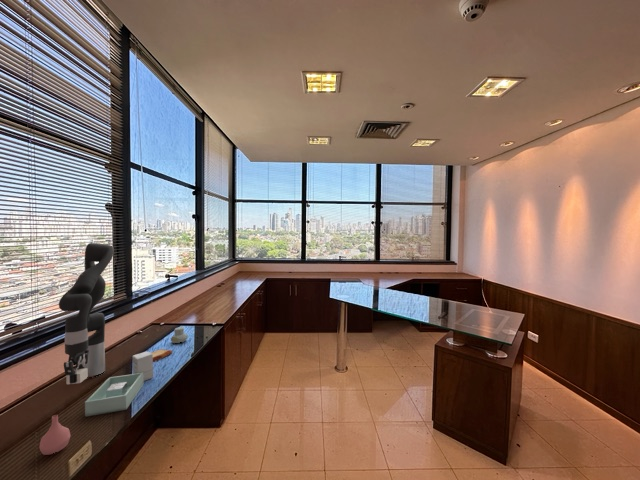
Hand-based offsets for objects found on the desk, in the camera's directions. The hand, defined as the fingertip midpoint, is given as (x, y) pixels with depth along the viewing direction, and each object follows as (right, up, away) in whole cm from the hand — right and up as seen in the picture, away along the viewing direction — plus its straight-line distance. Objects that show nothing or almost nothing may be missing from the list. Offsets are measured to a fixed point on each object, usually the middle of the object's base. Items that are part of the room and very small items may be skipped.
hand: (77, 379), depth 116 cm
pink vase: (+14, -13, -24) cm, 30 cm away
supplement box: (+11, -13, +26) cm, 31 cm away
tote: (+12, -13, +7) cm, 19 cm away
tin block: (+12, -12, +8) cm, 18 cm away
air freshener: (+3, -14, +79) cm, 80 cm away
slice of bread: (+2, -14, +51) cm, 53 cm away
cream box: (0, -1, 0) cm, 1 cm away
